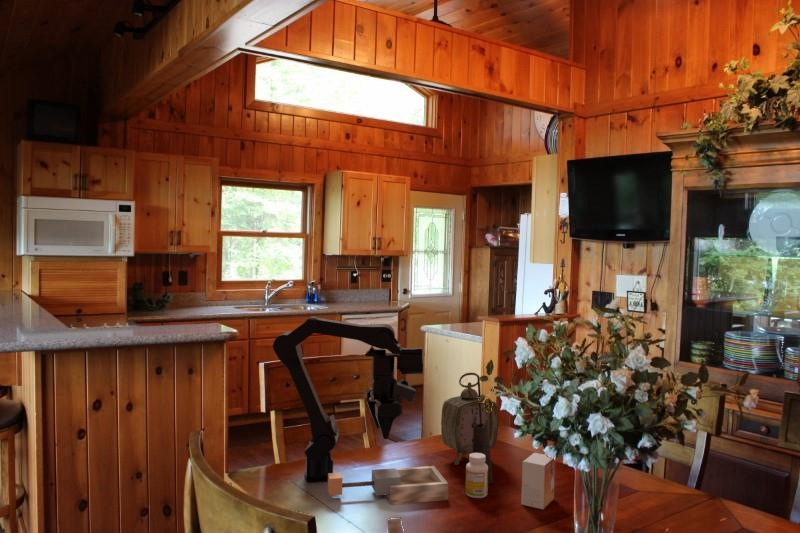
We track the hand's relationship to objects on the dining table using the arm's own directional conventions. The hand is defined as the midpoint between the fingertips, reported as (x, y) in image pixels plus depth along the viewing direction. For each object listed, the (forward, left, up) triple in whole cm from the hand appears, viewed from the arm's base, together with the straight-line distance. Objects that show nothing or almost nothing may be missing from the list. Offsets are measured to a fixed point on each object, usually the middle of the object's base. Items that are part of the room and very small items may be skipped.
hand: (382, 433), depth 164 cm
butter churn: (+26, -6, -12) cm, 29 cm away
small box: (+34, -21, -12) cm, 42 cm away
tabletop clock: (+27, +10, -12) cm, 31 cm away
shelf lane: (+6, -10, -12) cm, 17 cm away
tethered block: (-6, -10, -11) cm, 16 cm away
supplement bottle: (+21, -14, -12) cm, 28 cm away
